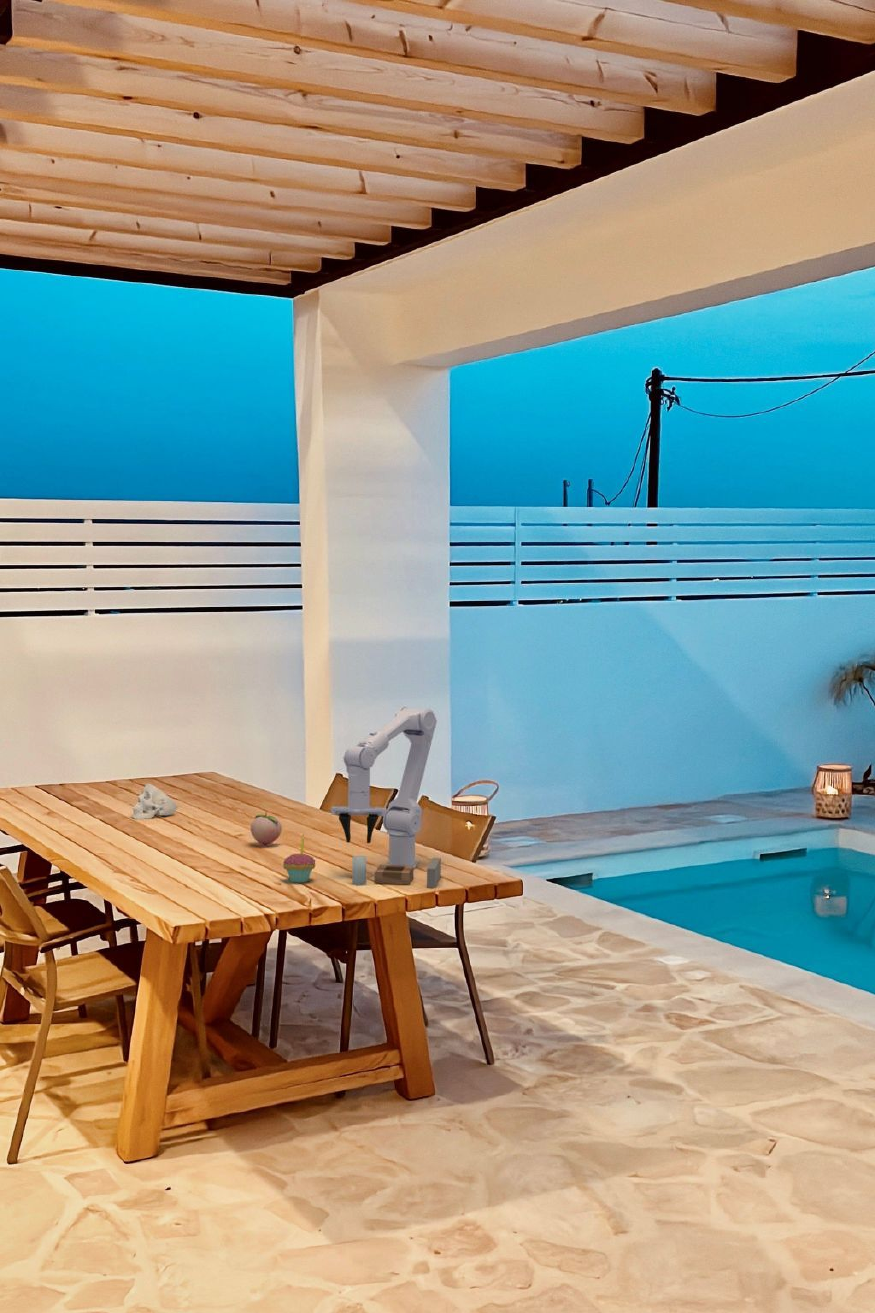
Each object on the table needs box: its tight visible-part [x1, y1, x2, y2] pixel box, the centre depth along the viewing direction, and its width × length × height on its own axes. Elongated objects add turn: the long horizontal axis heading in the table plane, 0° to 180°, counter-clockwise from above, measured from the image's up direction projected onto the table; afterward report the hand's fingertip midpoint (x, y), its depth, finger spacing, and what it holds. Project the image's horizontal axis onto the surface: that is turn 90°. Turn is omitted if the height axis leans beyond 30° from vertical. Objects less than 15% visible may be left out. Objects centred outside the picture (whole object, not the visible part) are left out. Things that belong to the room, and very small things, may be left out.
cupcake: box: [282, 834, 316, 884], centre depth 347 cm, size 9×8×12 cm
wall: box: [426, 857, 442, 889], centre depth 347 cm, size 14×2×5 cm, turn 174°
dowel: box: [351, 855, 367, 886], centre depth 344 cm, size 4×4×7 cm
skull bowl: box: [131, 783, 179, 820], centre depth 441 cm, size 10×14×12 cm
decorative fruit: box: [250, 812, 283, 846], centre depth 393 cm, size 9×8×10 cm
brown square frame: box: [374, 864, 415, 885], centre depth 349 cm, size 9×9×3 cm
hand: (358, 842), depth 352 cm, fingers open, 5 cm apart
